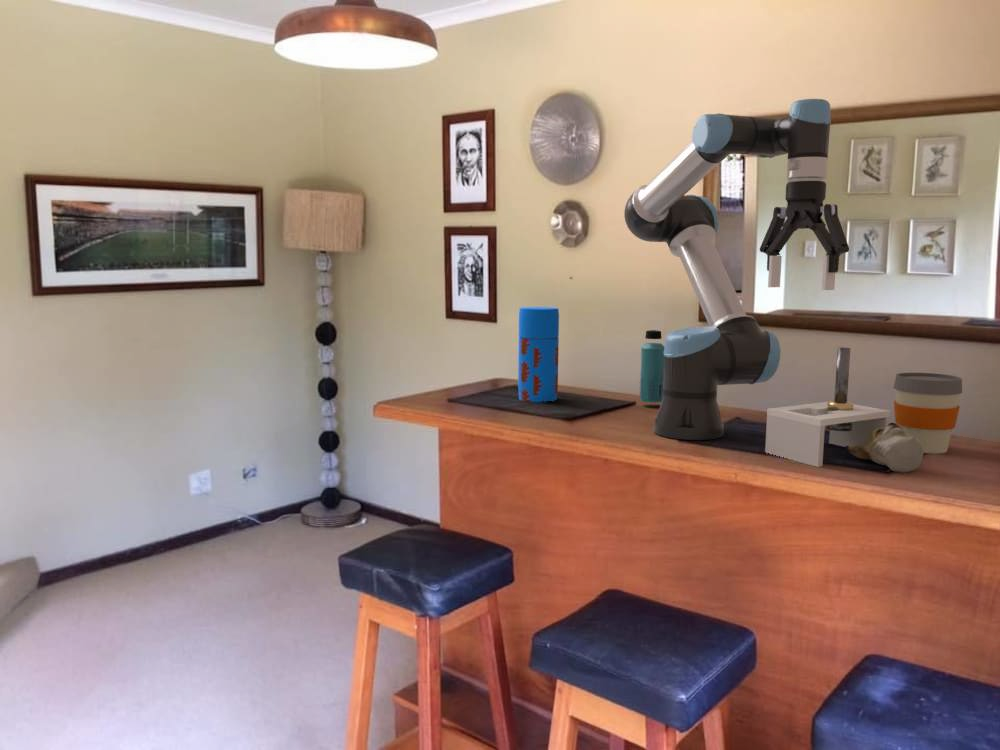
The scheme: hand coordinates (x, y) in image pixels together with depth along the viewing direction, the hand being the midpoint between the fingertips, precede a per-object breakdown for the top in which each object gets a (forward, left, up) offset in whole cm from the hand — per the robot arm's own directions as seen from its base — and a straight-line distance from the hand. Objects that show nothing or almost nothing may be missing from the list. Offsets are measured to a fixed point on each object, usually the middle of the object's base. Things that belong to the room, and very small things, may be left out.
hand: (800, 288), depth 169 cm
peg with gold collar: (+8, +4, -28) cm, 29 cm away
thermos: (-74, -16, -33) cm, 83 cm away
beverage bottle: (-51, +5, -33) cm, 61 cm away
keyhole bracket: (+8, +1, -33) cm, 34 cm away
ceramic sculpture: (+20, +4, -33) cm, 39 cm away
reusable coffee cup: (+14, +23, -33) cm, 42 cm away
